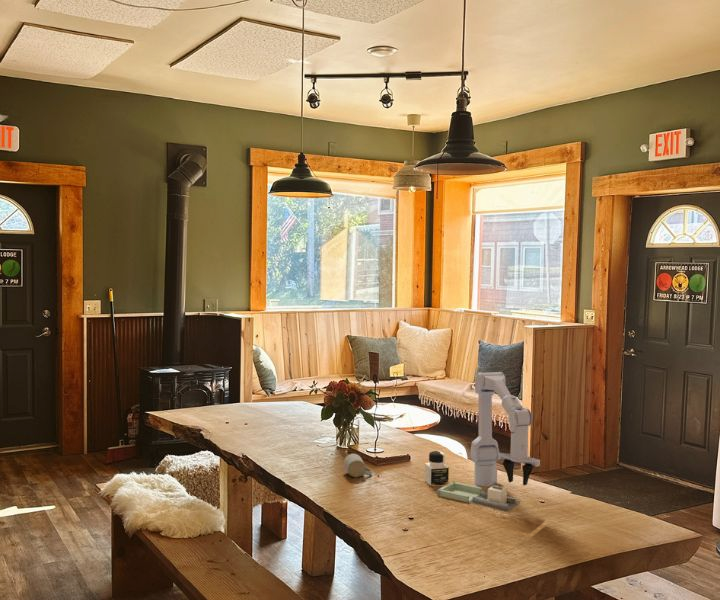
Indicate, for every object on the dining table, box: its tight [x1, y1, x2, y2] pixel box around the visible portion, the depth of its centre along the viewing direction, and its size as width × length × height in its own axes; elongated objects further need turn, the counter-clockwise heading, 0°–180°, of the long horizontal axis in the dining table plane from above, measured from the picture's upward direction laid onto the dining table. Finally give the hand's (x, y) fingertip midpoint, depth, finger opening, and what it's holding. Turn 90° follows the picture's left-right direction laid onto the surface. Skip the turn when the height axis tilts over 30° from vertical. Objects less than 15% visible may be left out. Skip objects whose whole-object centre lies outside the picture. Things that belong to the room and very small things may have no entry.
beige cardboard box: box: [487, 485, 508, 503], centre depth 263 cm, size 5×5×6 cm
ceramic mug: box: [343, 453, 373, 478], centre depth 295 cm, size 11×8×8 cm
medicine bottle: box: [424, 450, 450, 487], centre depth 286 cm, size 7×7×12 cm
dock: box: [467, 490, 521, 512], centre depth 263 cm, size 12×15×2 cm
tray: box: [436, 481, 483, 503], centre depth 271 cm, size 12×12×3 cm
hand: (517, 483), depth 258 cm, fingers open, 5 cm apart
